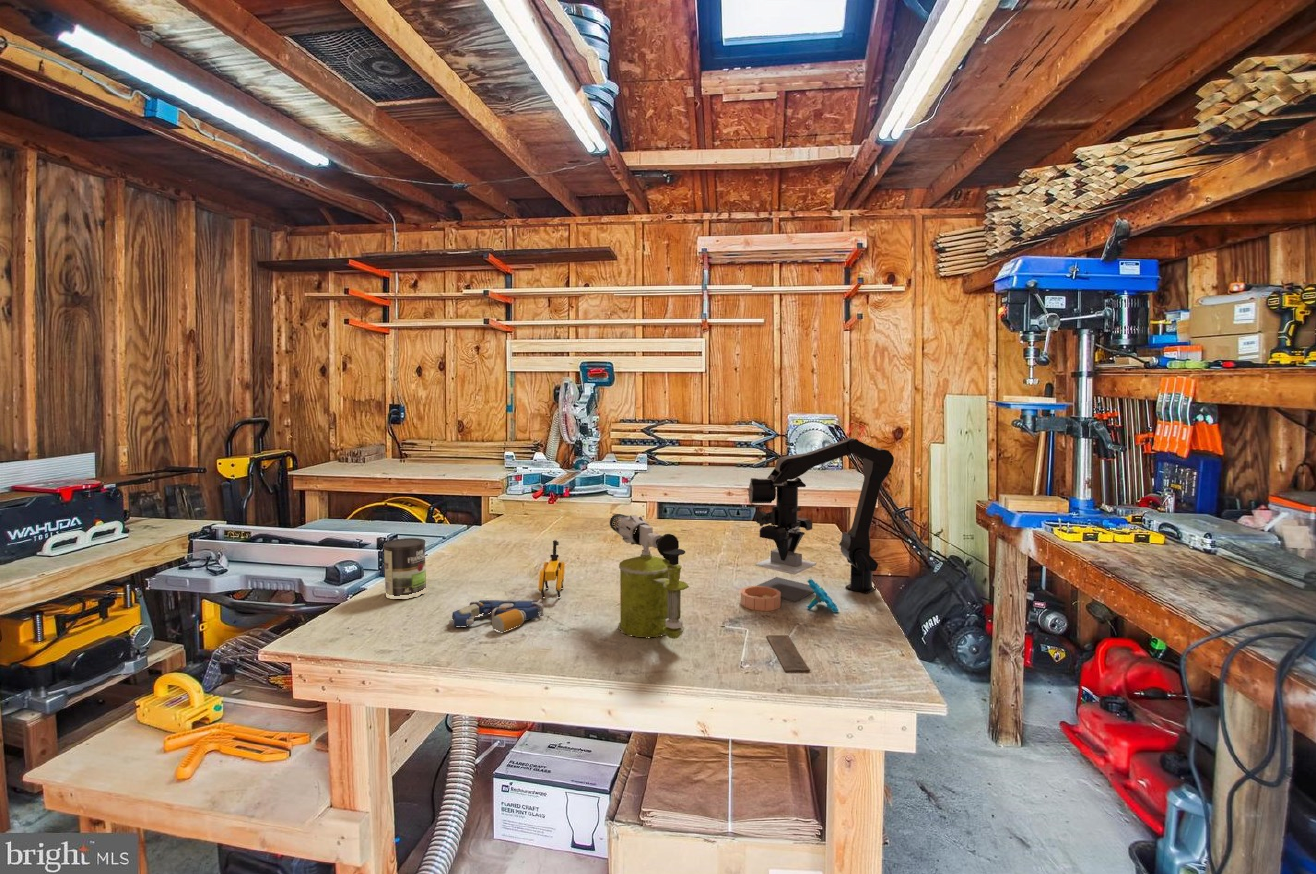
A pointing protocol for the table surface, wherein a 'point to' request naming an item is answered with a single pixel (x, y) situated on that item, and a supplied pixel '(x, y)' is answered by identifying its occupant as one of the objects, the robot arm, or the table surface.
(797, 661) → the wooden plank
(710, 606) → the table surface
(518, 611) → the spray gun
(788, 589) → the mat
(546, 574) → the robot dog
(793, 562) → the lid
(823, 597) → the gear
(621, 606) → the blowtorch
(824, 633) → the table surface
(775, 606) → the dish
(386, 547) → the coffee can
